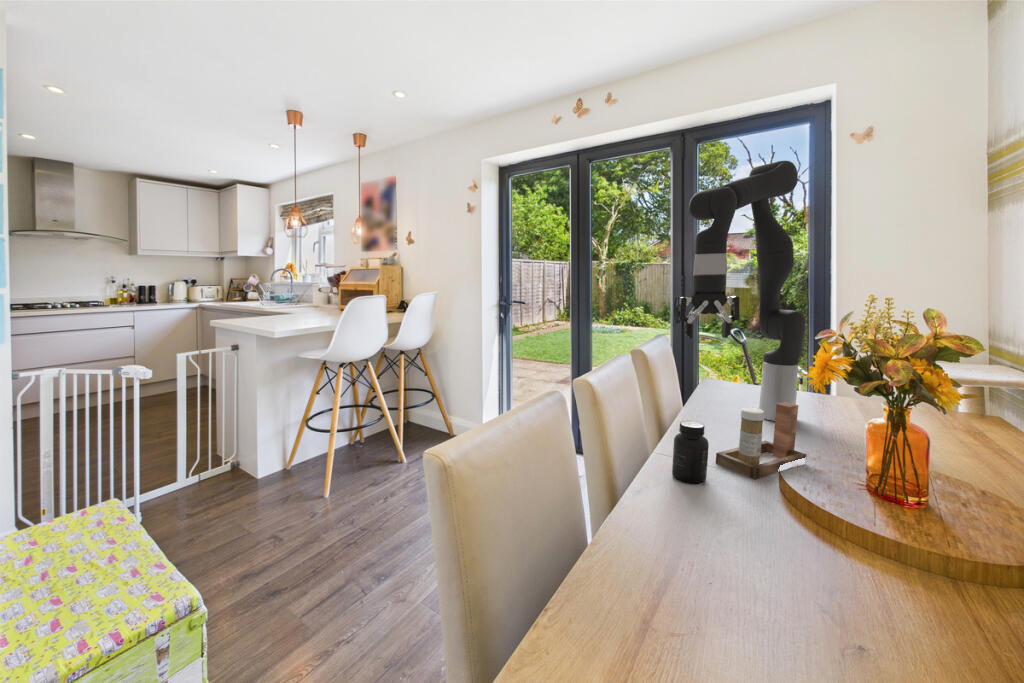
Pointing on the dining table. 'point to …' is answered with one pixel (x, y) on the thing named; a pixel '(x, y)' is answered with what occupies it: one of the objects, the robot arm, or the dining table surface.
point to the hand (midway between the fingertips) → (707, 337)
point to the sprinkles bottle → (751, 435)
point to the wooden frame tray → (769, 446)
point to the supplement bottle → (690, 453)
